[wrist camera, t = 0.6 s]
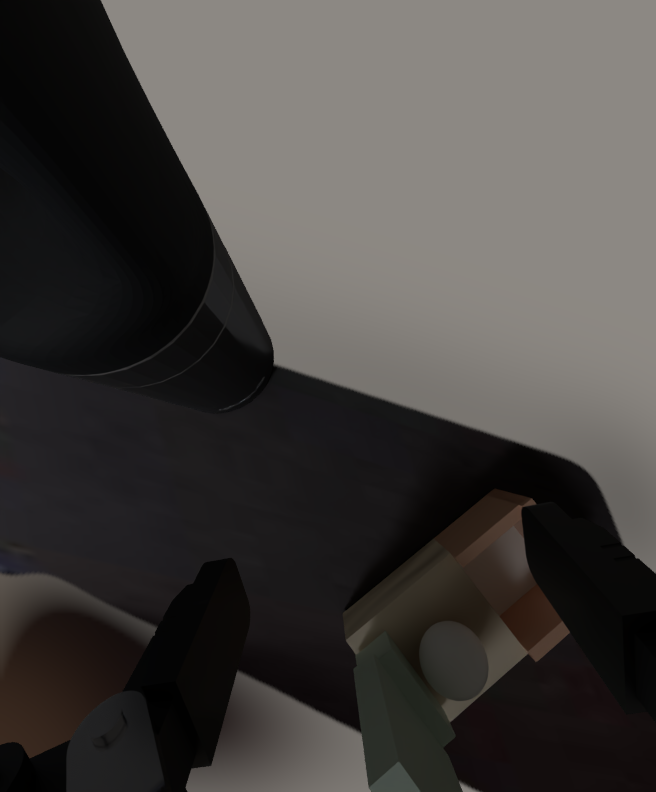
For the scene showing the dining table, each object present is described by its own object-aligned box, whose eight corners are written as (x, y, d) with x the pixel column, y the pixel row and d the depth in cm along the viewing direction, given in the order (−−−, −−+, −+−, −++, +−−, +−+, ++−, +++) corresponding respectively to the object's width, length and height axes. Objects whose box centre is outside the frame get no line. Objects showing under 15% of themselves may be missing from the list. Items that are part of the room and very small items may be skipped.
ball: (400, 636, 25) (414, 672, 21) (446, 596, 25) (469, 625, 21) (438, 688, 25) (460, 734, 21) (485, 647, 25) (515, 686, 21)
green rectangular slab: (350, 649, 25) (368, 787, 15) (380, 624, 25) (418, 743, 15) (418, 743, 24) (485, 954, 14) (449, 716, 24) (536, 906, 14)
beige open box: (342, 613, 29) (345, 640, 25) (433, 538, 30) (450, 553, 26) (408, 703, 28) (422, 746, 24) (500, 624, 29) (527, 653, 25)
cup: (433, 538, 30) (458, 559, 24) (494, 488, 30) (531, 498, 25) (500, 624, 29) (540, 666, 23) (561, 571, 29) (615, 601, 24)
